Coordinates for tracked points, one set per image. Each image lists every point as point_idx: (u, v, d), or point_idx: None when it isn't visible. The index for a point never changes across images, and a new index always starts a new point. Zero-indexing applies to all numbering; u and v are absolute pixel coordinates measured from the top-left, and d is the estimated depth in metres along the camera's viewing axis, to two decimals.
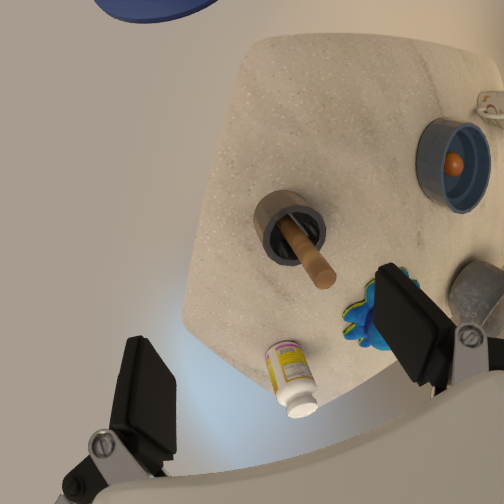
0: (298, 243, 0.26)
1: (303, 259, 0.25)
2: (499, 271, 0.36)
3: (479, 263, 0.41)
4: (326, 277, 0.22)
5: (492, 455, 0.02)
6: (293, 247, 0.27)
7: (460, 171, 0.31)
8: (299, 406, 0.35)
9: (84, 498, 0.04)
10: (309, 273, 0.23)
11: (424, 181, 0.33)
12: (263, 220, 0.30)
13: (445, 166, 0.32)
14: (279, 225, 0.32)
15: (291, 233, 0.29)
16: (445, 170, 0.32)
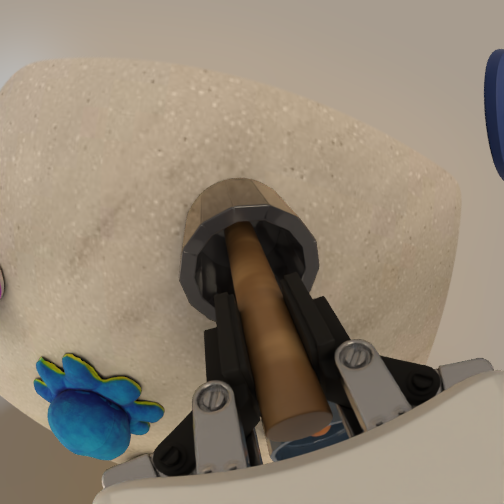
0: (281, 296, 0.11)
1: (287, 333, 0.09)
2: None
3: None
4: (307, 427, 0.07)
5: (492, 455, 0.02)
6: (262, 284, 0.11)
7: (316, 435, 0.29)
8: None
9: (184, 468, 0.05)
10: (290, 376, 0.07)
11: None
12: (277, 202, 0.14)
13: None
14: (244, 230, 0.16)
15: (268, 266, 0.13)
16: None
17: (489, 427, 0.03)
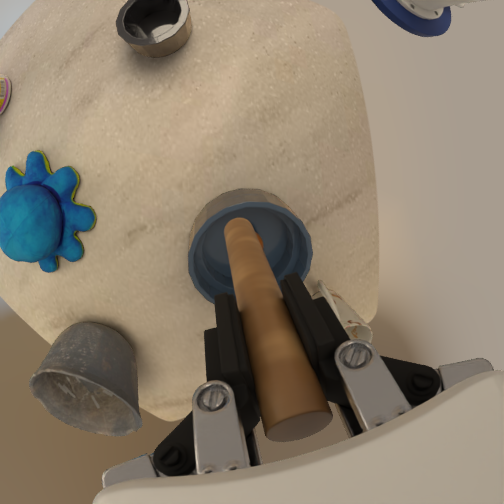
0: (281, 296, 0.11)
1: (287, 333, 0.09)
2: (134, 383, 0.33)
3: (131, 352, 0.37)
4: (307, 427, 0.07)
5: (492, 455, 0.02)
6: (262, 284, 0.11)
7: None
8: None
9: (184, 468, 0.05)
10: (289, 376, 0.07)
11: (215, 201, 0.31)
12: None
13: None
14: (244, 230, 0.16)
15: (268, 266, 0.13)
16: None
17: (489, 427, 0.03)
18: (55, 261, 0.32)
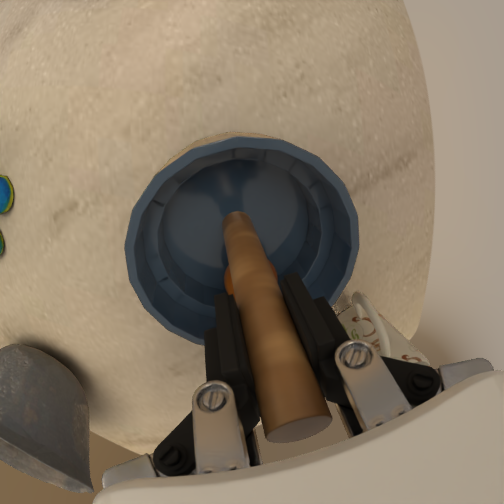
0: (281, 295, 0.11)
1: (288, 334, 0.09)
2: (78, 436, 0.18)
3: (75, 390, 0.21)
4: (307, 429, 0.07)
5: (492, 455, 0.02)
6: (261, 282, 0.11)
7: None
8: None
9: (184, 468, 0.05)
10: (290, 379, 0.07)
11: (182, 151, 0.16)
12: None
13: None
14: (243, 225, 0.16)
15: (267, 263, 0.13)
16: None
17: (489, 427, 0.03)
18: None
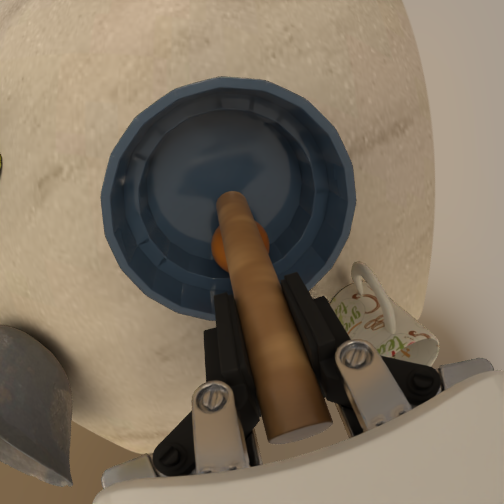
0: (280, 289, 0.11)
1: (289, 336, 0.09)
2: (57, 423, 0.16)
3: (56, 374, 0.20)
4: (308, 433, 0.07)
5: (492, 455, 0.02)
6: (260, 276, 0.11)
7: None
8: None
9: (183, 468, 0.05)
10: (293, 386, 0.07)
11: None
12: None
13: None
14: (239, 207, 0.15)
15: (265, 251, 0.13)
16: None
17: (489, 427, 0.03)
18: None
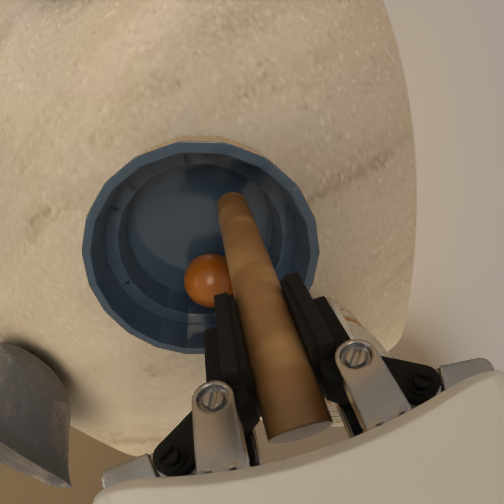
0: (280, 289, 0.11)
1: (289, 335, 0.09)
2: (56, 432, 0.17)
3: (55, 388, 0.21)
4: (308, 432, 0.07)
5: (492, 455, 0.02)
6: (260, 276, 0.11)
7: None
8: None
9: (183, 468, 0.05)
10: (293, 385, 0.07)
11: None
12: None
13: (211, 301, 0.18)
14: (239, 208, 0.15)
15: (265, 252, 0.13)
16: (201, 300, 0.18)
17: (489, 427, 0.03)
18: None
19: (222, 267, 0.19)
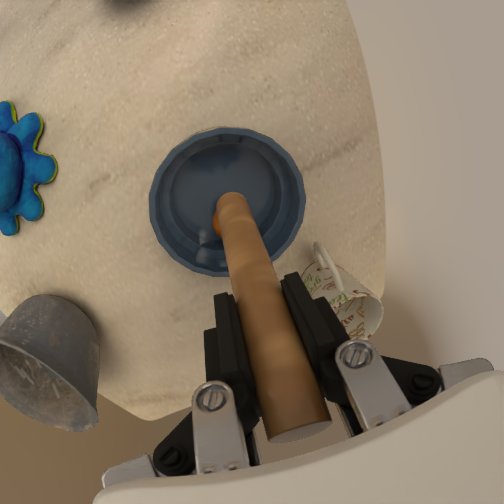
0: (280, 289, 0.11)
1: (289, 335, 0.09)
2: (91, 367, 0.26)
3: (91, 331, 0.29)
4: (308, 432, 0.07)
5: (492, 455, 0.02)
6: (260, 276, 0.11)
7: None
8: None
9: (183, 468, 0.05)
10: (292, 385, 0.07)
11: None
12: None
13: None
14: (239, 208, 0.15)
15: (265, 252, 0.13)
16: None
17: (489, 427, 0.03)
18: (14, 222, 0.24)
19: None
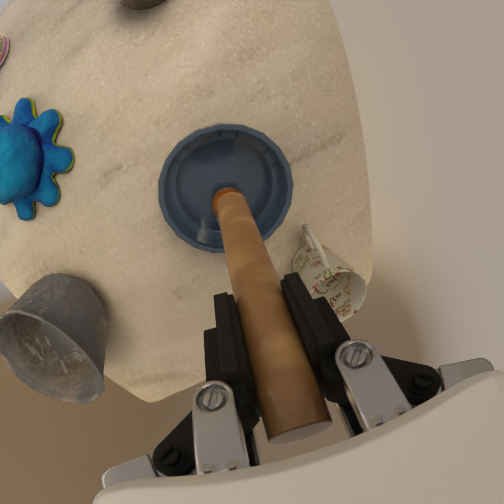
0: (280, 289, 0.11)
1: (289, 335, 0.09)
2: (100, 338, 0.30)
3: (101, 306, 0.33)
4: (308, 432, 0.07)
5: (492, 455, 0.02)
6: (260, 276, 0.11)
7: None
8: None
9: (183, 468, 0.05)
10: (293, 385, 0.07)
11: None
12: None
13: None
14: (239, 208, 0.15)
15: (265, 252, 0.13)
16: None
17: (489, 427, 0.03)
18: (32, 207, 0.28)
19: (235, 190, 0.31)
